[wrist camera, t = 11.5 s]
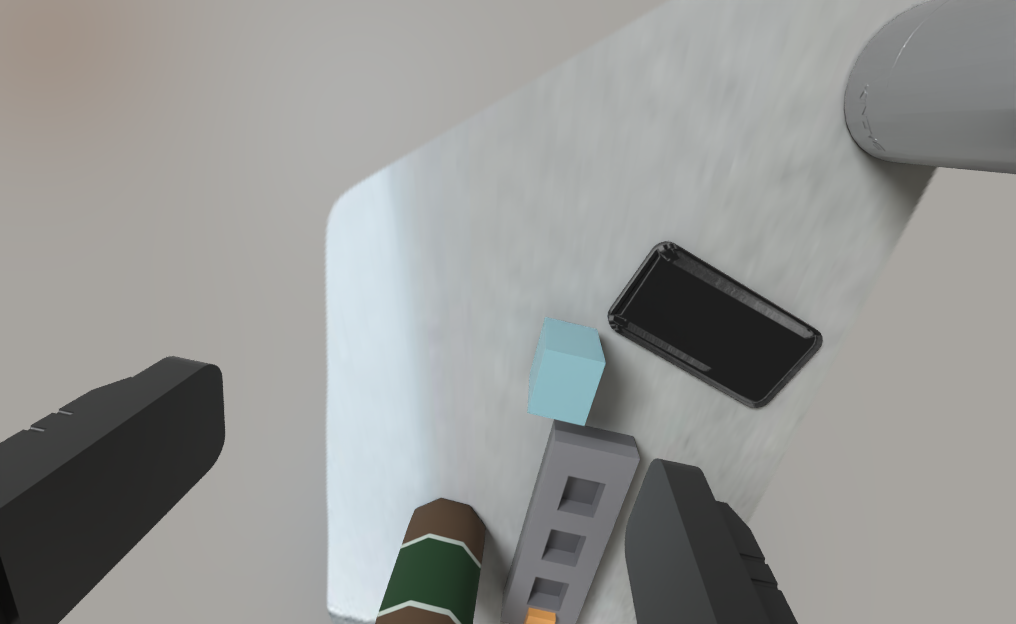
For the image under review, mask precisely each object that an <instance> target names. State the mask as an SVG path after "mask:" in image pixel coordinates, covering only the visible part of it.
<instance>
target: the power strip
mask: <svg viewBox="0 0 1016 624" xmlns="http://www.w3.org/2000/svg"><path fill="white" fill-rule="evenodd" d="M639 461H640V458H639V454H638V451H637V447H636V444H635V440H634V437H633V436H629V435H624V434H620V433H615V432H610V431H606V430H601V429H597V428H592V427H588V426H582V425H578V424H573V423H569V422H565V421H560V420H556V419H554V422H553V425H552V429H551V432H550V435H549V439H548V442H547V446H546V449H545V453H544V456H543V459H542V463H541V466H540V470H539V473H538V476H537V480H536V483H535V487H534V490H533V493H532V497H531V500H530V504H529V507H528V511H527V514H526V517H525V521H524V524H523V528H522V531H521V534H520V538H519V541H518V545H517V548H516V551H515V555H514V558H513V562H512V565H511V568H510V572H509V575H508V579H507V582H506V586H505V589H504V592H503V602H502V613H501V622H505V623H509V624H576V622H577V619H578V616H579V614H580V611H581V609H582V606H583V604H584V601H585V599H586V596H587V593H588V591H589V588H590V586H591V583H592V581H593V578H594V576H595V573H596V570H597V568H598V565H599V563H600V560H601V558H602V555H603V553H604V550H605V547H606V545H607V542H608V540H609V537H610V535H611V532H612V530H613V527H614V525H615V522H616V519H617V517H618V514H619V512H620V509H621V507H622V504H623V502H624V499H625V496H626V494H627V491H628V489H629V486H630V484H631V481H632V479H633V476H634V473H635V471H636V468H637V466H638V463H639Z"/></svg>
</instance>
